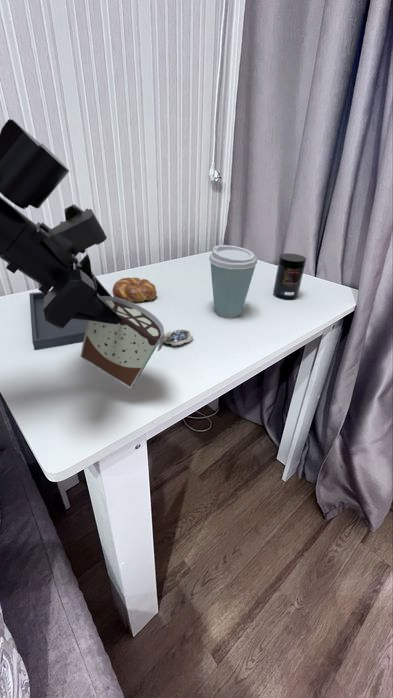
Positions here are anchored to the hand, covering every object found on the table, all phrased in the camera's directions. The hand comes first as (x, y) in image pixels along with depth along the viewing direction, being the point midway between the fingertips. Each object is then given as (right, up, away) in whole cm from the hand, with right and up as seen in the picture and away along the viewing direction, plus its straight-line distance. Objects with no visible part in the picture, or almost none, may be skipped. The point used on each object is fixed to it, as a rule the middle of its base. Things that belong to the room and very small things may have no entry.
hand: (116, 312), depth 48 cm
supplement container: (+36, +9, +42) cm, 56 cm away
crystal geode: (+7, -3, +20) cm, 22 cm away
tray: (-16, +2, +26) cm, 31 cm away
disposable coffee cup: (+19, +3, +32) cm, 37 cm away
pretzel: (-4, +9, +38) cm, 39 cm away
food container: (-1, -8, +5) cm, 9 cm away
